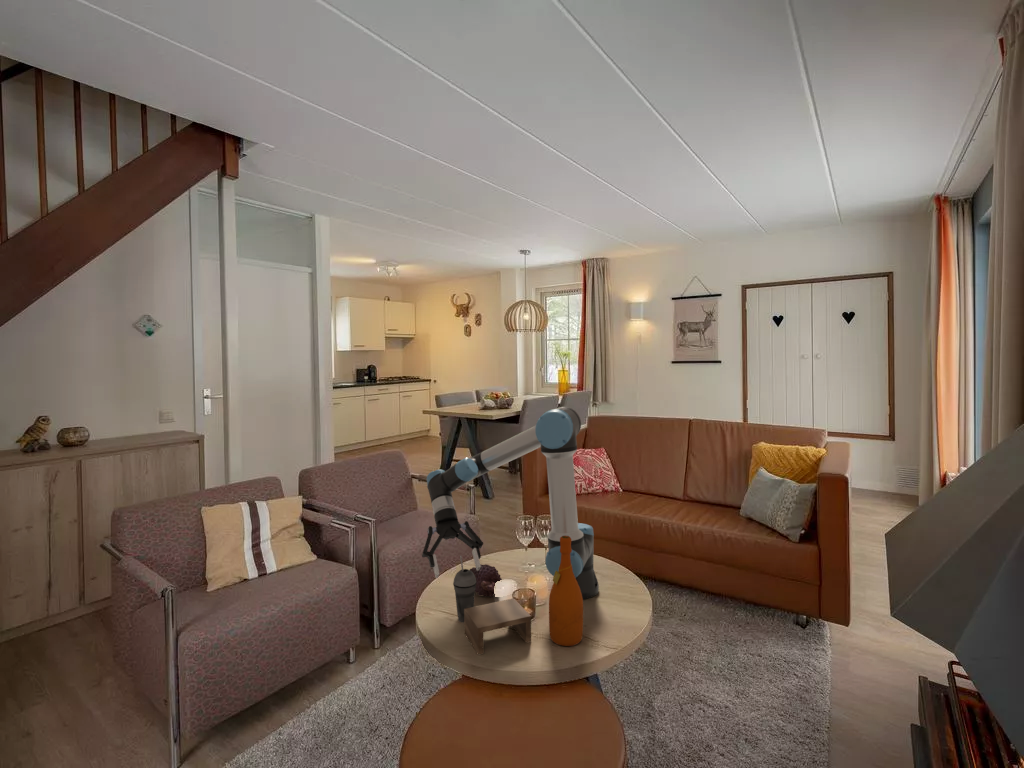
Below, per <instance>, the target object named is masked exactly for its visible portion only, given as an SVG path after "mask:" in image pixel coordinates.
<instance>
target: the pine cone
mask: <svg viewBox="0 0 1024 768" xmlns="http://www.w3.org/2000/svg"><path fill="white" fill-rule="evenodd" d="M480 565H481V568H480V569H479V570H478V571H477V570H476V566H475V567H474V566H473V567H471V568H470V569H469V570H470V571H472V572H473V574H474V575H475V578H476V582H477V583H476V588H475V594H478V596H480V597H481V596H482V597H488V598H489V597H492V598H493V594H494V586H495V583H496V582H497V581H500V580H503V579H502V577H501V574H500V573H499V570H498V569H497V568H496V567H495V566H492V565H489V564H486V563H485V564H482V563H480ZM494 595H495V594H494Z"/></svg>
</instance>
